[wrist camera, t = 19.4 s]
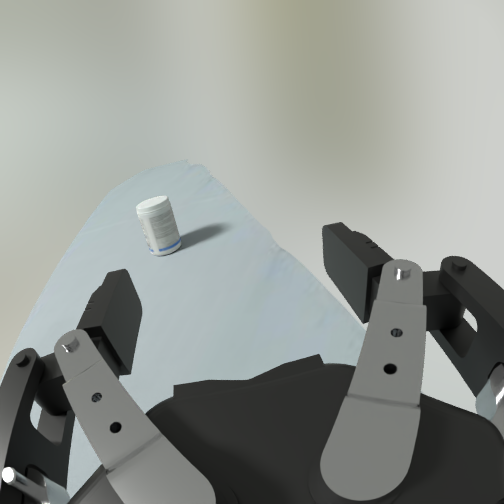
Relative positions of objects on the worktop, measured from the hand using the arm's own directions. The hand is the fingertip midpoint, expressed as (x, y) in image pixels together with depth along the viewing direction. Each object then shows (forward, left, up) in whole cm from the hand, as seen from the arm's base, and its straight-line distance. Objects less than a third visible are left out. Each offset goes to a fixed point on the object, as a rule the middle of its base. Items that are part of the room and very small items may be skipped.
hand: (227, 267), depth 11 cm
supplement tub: (-44, +53, -28) cm, 75 cm away
